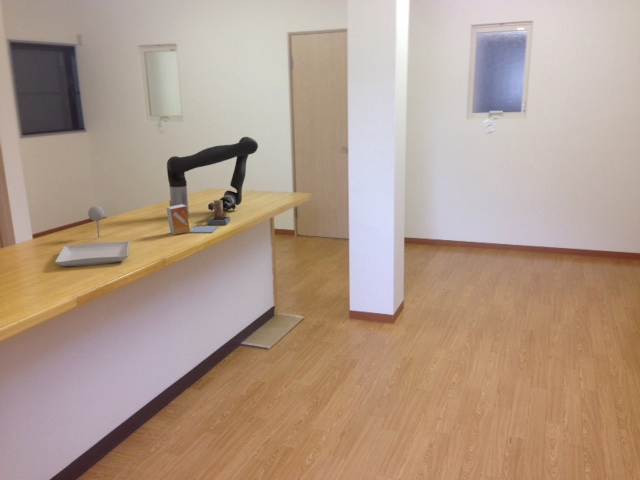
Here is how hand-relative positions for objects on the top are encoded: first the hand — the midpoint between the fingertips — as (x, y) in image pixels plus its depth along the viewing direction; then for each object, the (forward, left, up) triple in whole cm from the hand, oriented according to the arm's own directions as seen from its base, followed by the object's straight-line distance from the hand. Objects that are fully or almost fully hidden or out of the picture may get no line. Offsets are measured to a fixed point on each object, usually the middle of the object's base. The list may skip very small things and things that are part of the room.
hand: (219, 208), depth 294 cm
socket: (0, -1, -8) cm, 8 cm away
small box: (-14, -23, -7) cm, 28 cm away
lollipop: (-51, -32, -8) cm, 61 cm away
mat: (-4, -17, -8) cm, 19 cm away
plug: (0, -1, -8) cm, 8 cm away
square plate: (-36, -67, -8) cm, 77 cm away
